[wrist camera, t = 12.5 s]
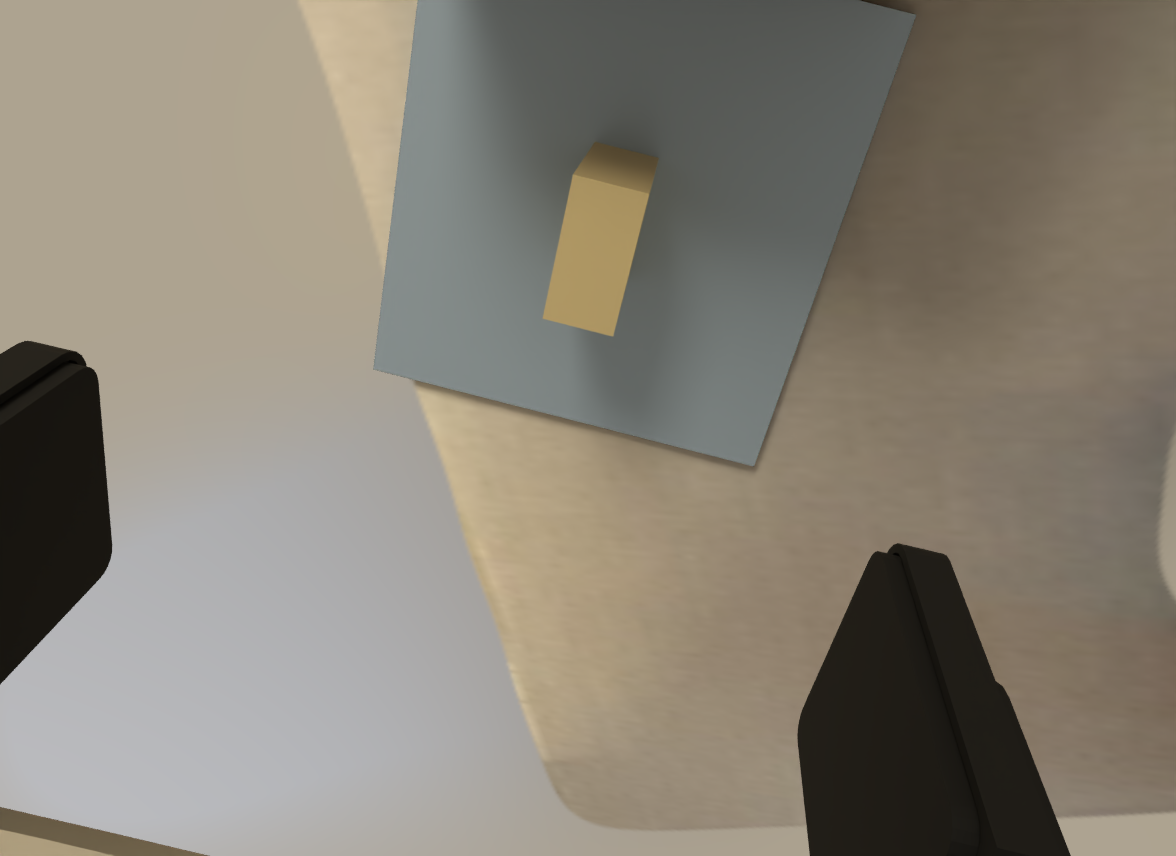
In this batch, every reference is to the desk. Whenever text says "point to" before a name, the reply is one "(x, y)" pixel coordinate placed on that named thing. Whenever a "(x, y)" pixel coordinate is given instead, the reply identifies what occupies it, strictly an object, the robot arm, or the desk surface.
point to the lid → (627, 202)
